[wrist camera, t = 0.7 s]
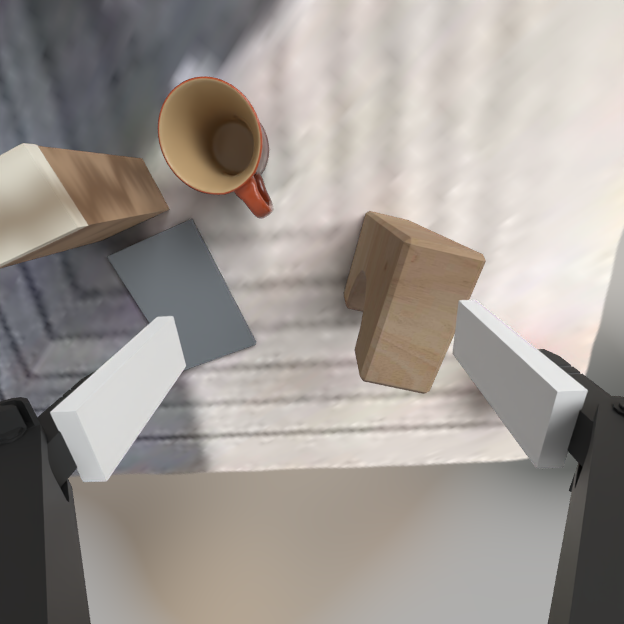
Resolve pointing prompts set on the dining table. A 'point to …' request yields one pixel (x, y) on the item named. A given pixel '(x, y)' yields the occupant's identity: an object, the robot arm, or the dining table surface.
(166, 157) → the mug
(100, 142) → the dining table surface
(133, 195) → the brown and cream block
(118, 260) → the mat
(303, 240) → the dining table surface
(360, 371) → the decorative block
